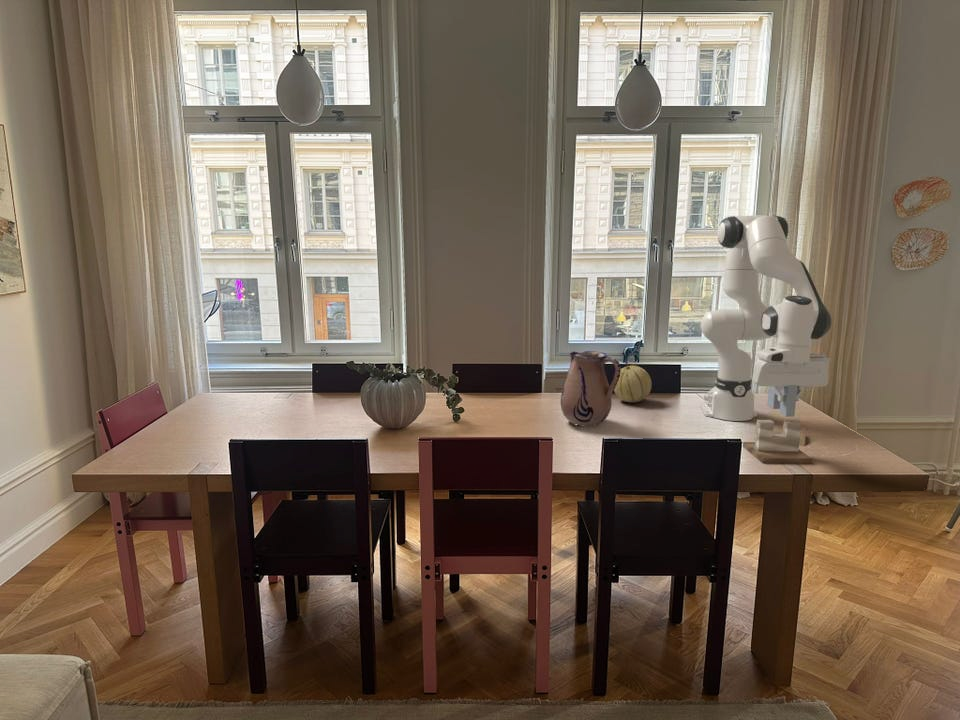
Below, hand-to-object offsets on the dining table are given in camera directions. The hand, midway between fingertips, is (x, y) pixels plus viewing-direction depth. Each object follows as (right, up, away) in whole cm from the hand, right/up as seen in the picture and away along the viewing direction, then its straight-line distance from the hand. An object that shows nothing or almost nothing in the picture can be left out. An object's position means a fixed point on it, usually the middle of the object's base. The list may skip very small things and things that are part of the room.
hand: (788, 400), depth 175 cm
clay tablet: (+11, -14, +23) cm, 30 cm away
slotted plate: (0, -3, +5) cm, 6 cm away
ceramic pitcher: (-50, -11, +38) cm, 64 cm away
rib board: (0, -17, +8) cm, 18 cm away
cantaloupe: (-29, -5, +66) cm, 72 cm away
